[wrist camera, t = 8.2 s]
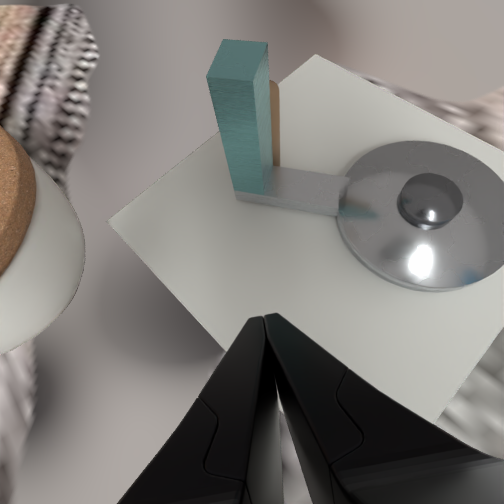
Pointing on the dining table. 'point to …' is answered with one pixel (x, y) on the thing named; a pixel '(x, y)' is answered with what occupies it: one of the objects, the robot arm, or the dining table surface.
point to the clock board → (316, 245)
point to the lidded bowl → (34, 247)
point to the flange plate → (367, 188)
